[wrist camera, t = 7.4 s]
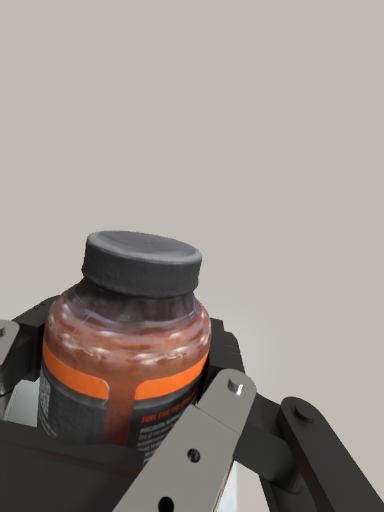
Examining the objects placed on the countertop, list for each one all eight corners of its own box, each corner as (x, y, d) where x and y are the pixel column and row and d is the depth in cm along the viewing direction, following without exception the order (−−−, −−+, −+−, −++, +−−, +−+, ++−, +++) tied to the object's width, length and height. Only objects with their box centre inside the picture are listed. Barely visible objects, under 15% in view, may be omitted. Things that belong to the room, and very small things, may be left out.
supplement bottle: (189, 451, 13) (242, 252, 10) (129, 633, 7) (215, 293, 5) (97, 404, 14) (124, 221, 12) (-11, 526, 9) (-4, 224, 6)
